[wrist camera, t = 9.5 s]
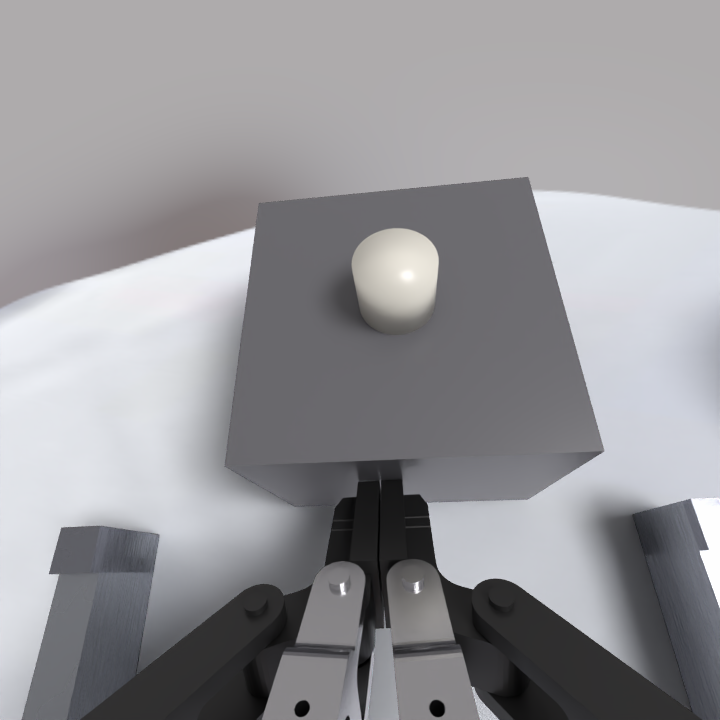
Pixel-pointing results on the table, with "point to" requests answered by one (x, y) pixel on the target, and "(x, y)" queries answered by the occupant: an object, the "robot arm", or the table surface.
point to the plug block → (407, 349)
